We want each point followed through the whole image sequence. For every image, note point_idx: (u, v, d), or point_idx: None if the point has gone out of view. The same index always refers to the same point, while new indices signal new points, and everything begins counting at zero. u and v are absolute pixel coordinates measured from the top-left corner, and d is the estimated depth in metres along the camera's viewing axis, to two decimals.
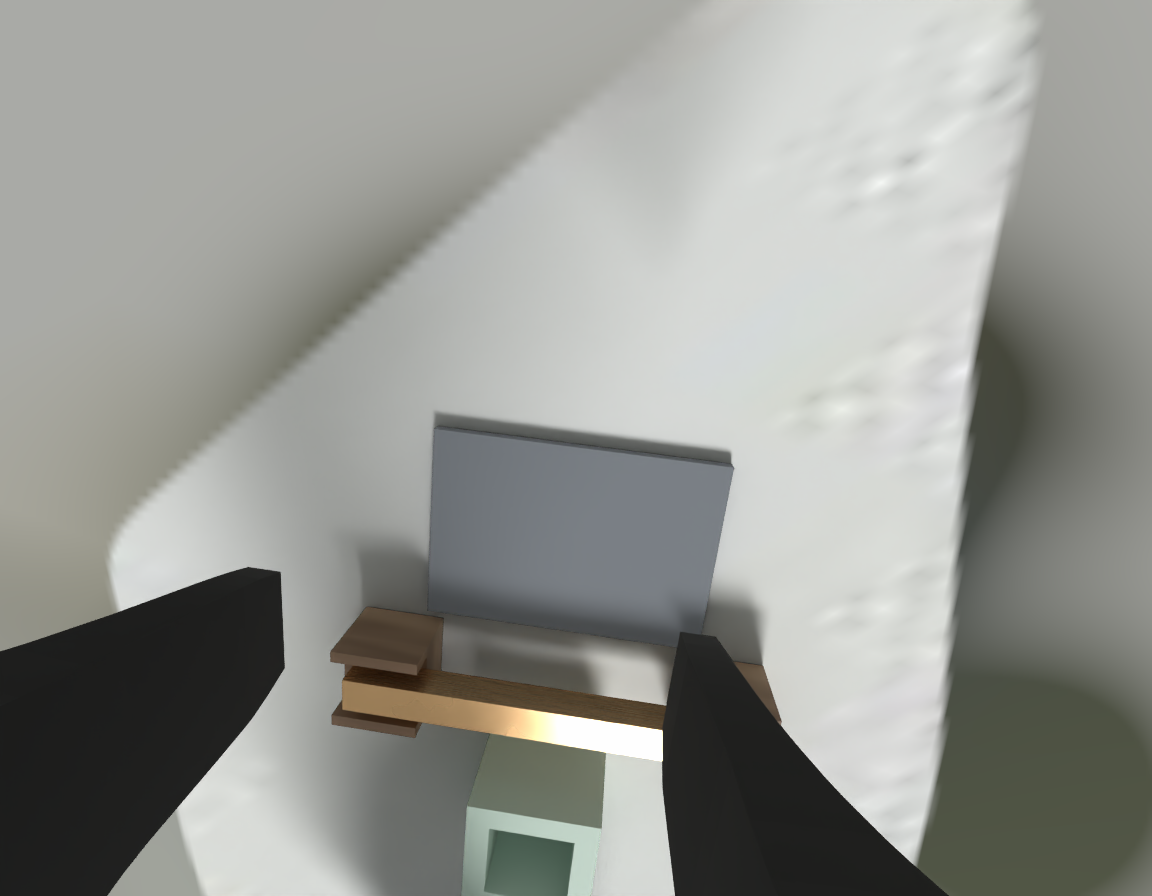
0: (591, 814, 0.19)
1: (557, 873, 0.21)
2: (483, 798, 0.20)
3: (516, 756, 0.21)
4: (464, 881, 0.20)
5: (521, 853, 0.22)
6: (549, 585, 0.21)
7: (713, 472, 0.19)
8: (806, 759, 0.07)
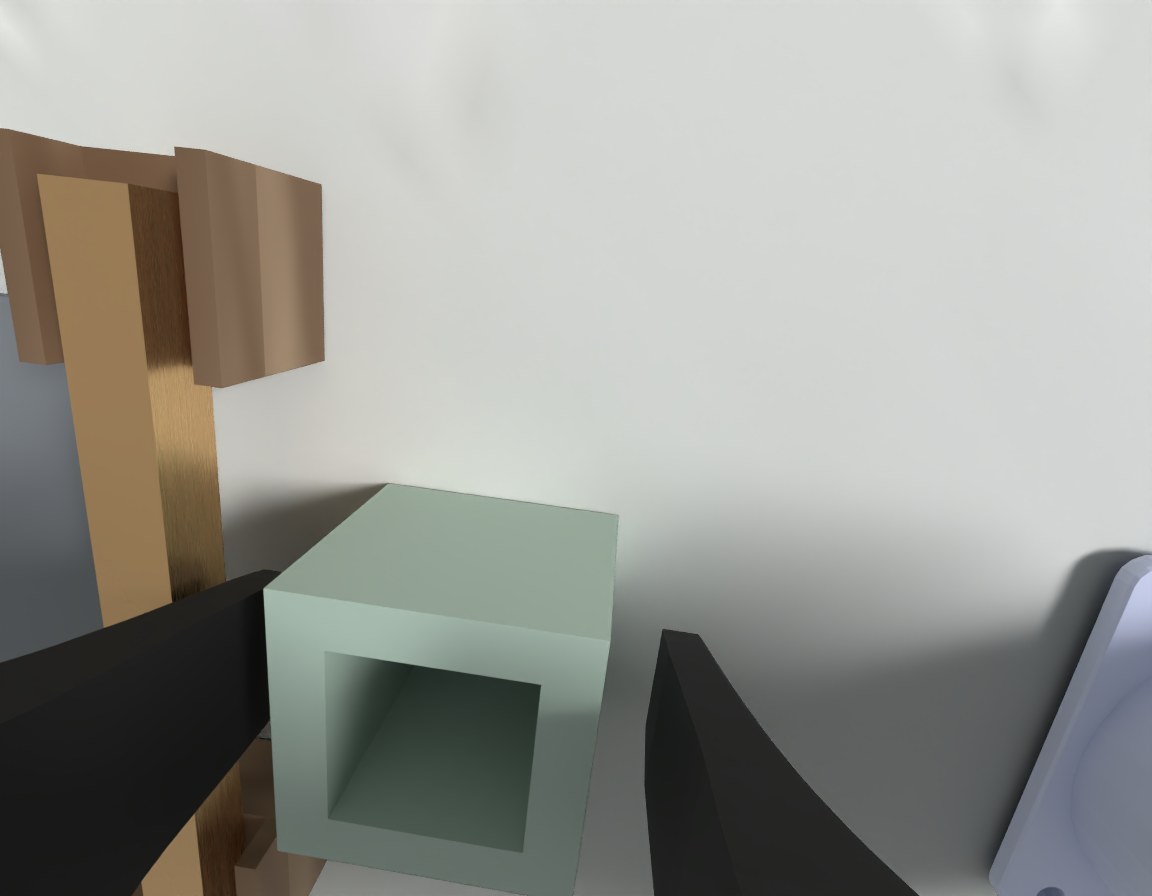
0: None
1: None
2: None
3: None
4: (497, 885, 0.09)
5: None
6: (75, 574, 0.12)
7: None
8: (780, 755, 0.07)
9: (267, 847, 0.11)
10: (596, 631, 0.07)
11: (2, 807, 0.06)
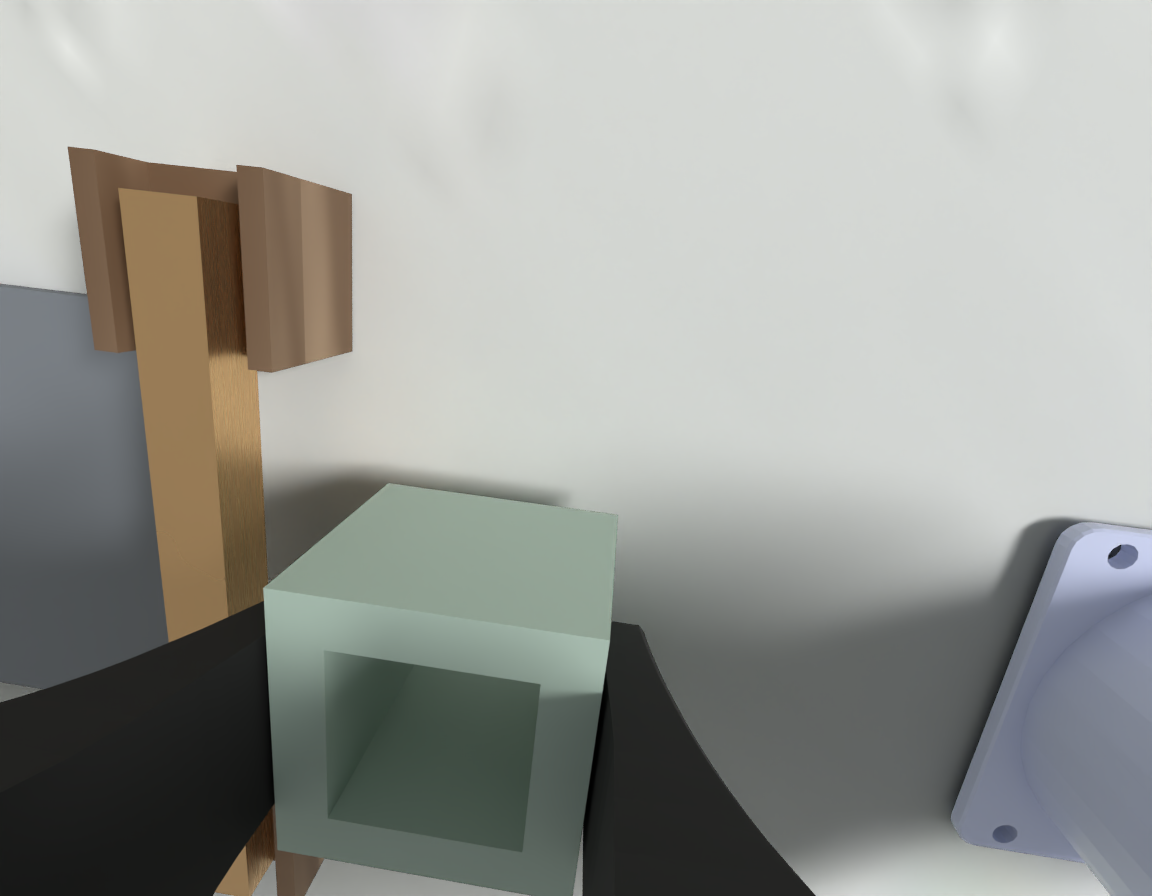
0: None
1: None
2: None
3: None
4: (497, 884, 0.09)
5: None
6: (122, 547, 0.13)
7: None
8: (692, 741, 0.07)
9: None
10: (595, 630, 0.07)
11: (98, 824, 0.06)
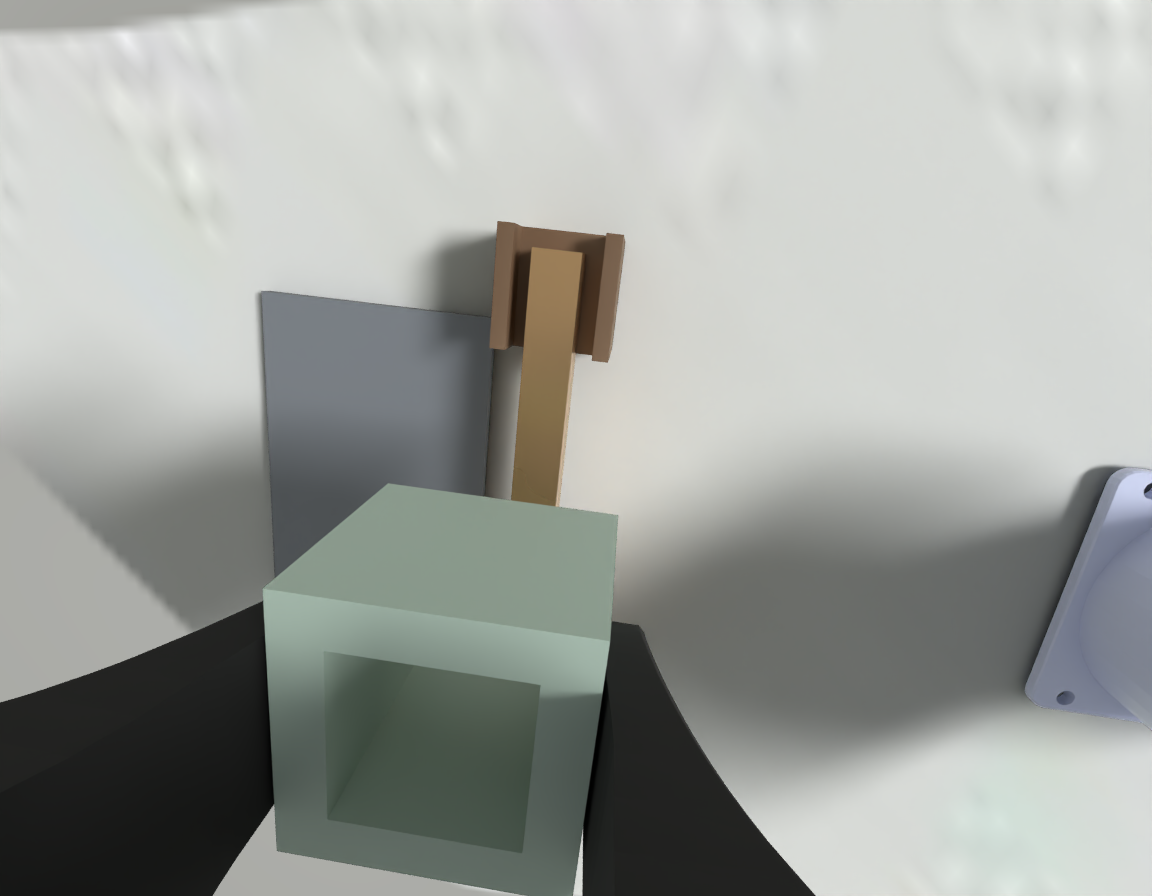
0: None
1: None
2: None
3: None
4: (497, 885, 0.09)
5: None
6: None
7: (270, 313, 0.17)
8: (692, 741, 0.07)
9: None
10: (596, 630, 0.07)
11: (98, 824, 0.06)
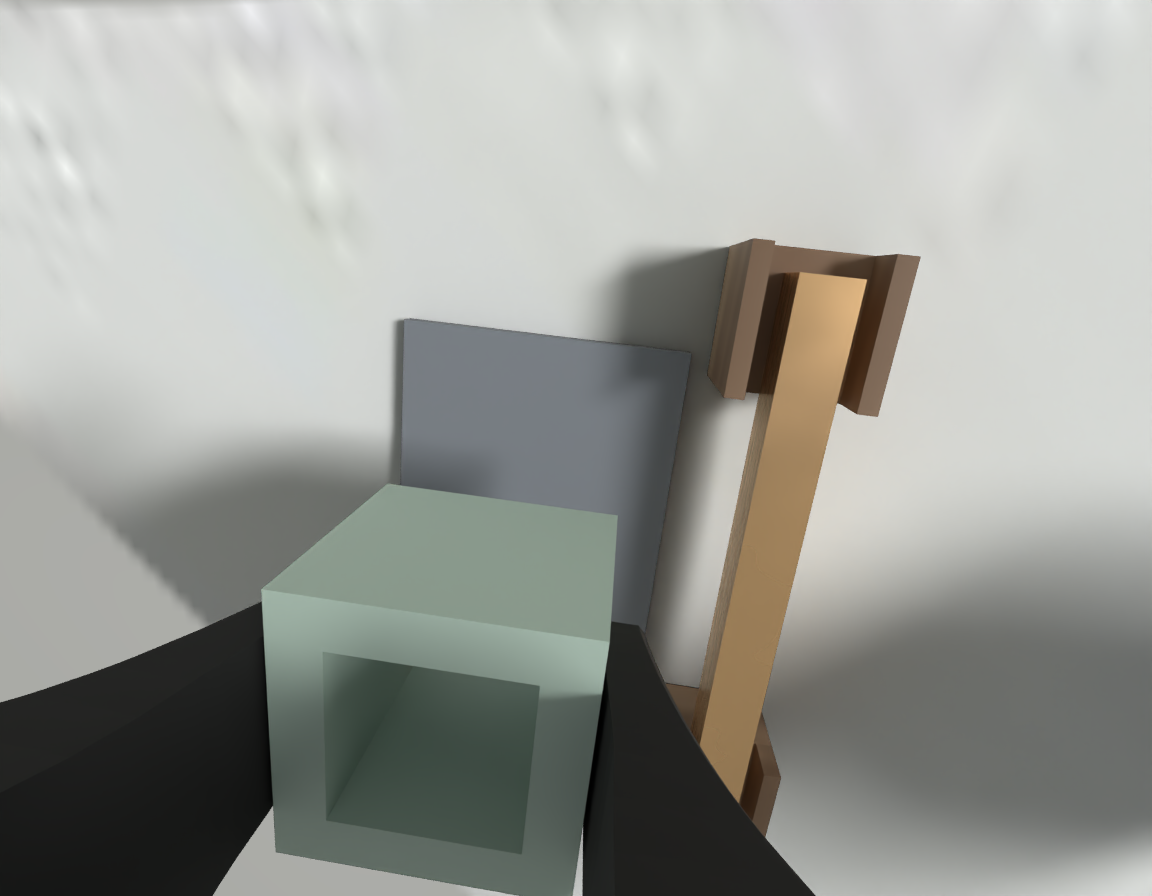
0: None
1: None
2: None
3: None
4: (496, 887, 0.09)
5: None
6: None
7: (413, 346, 0.14)
8: (692, 741, 0.07)
9: (772, 764, 0.14)
10: (595, 632, 0.07)
11: (98, 824, 0.06)
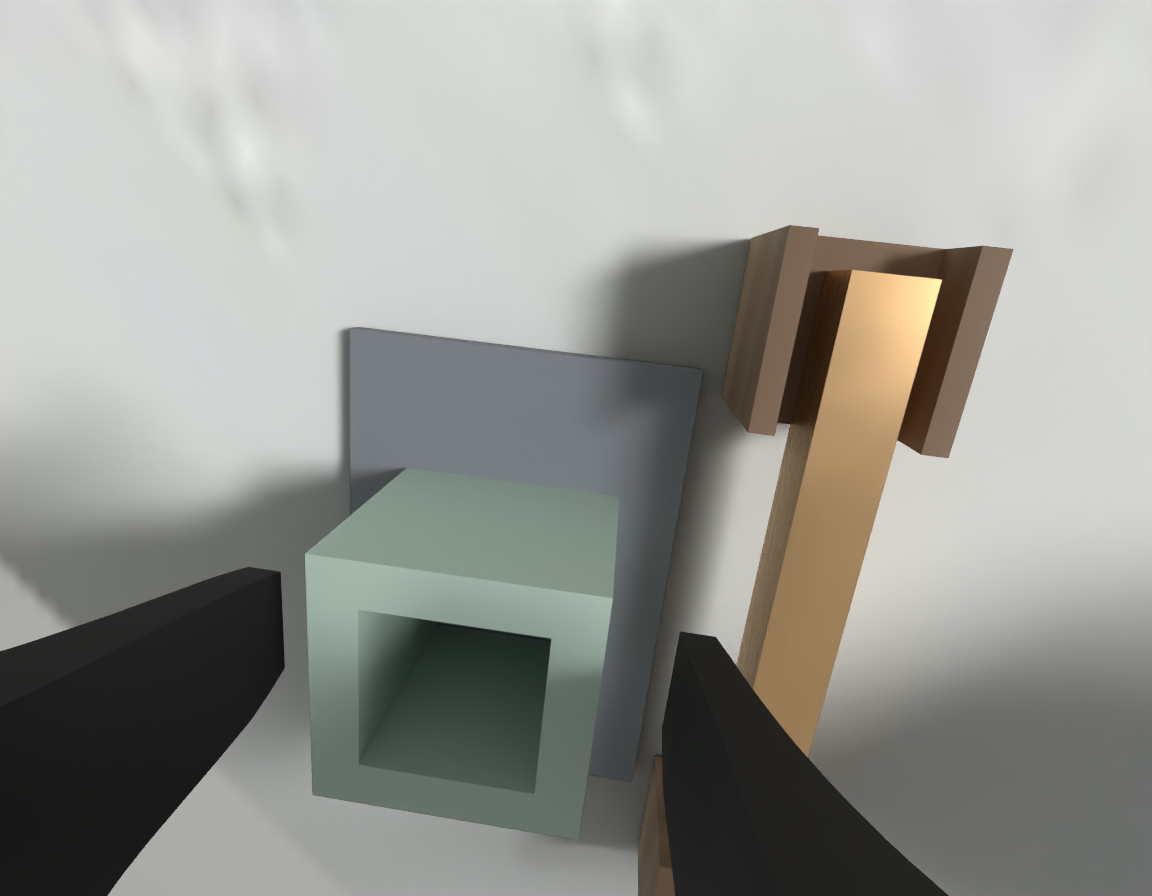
0: None
1: None
2: None
3: None
4: (511, 824, 0.10)
5: None
6: None
7: (361, 361, 0.12)
8: (806, 759, 0.07)
9: None
10: (601, 590, 0.08)
11: None
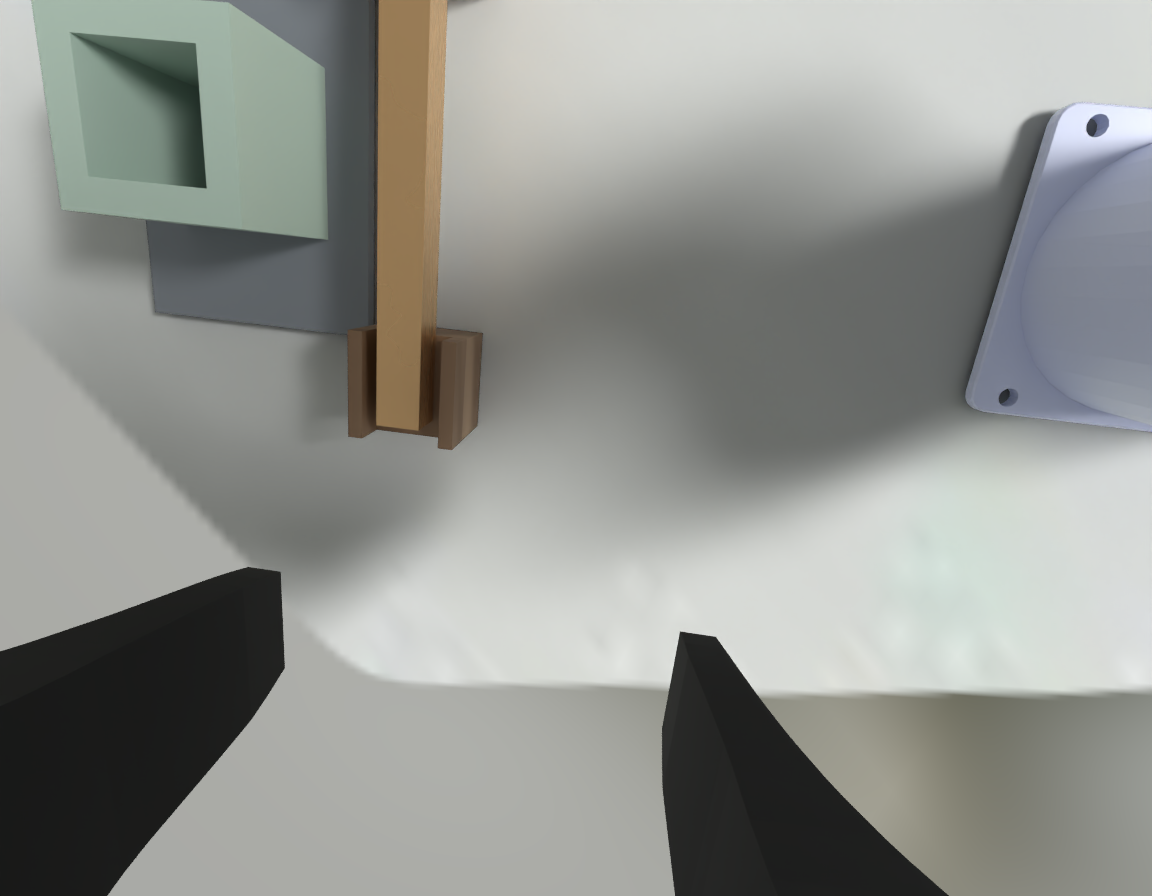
0: None
1: None
2: None
3: None
4: (196, 220, 0.14)
5: None
6: None
7: None
8: (806, 759, 0.07)
9: None
10: (225, 5, 0.12)
11: None
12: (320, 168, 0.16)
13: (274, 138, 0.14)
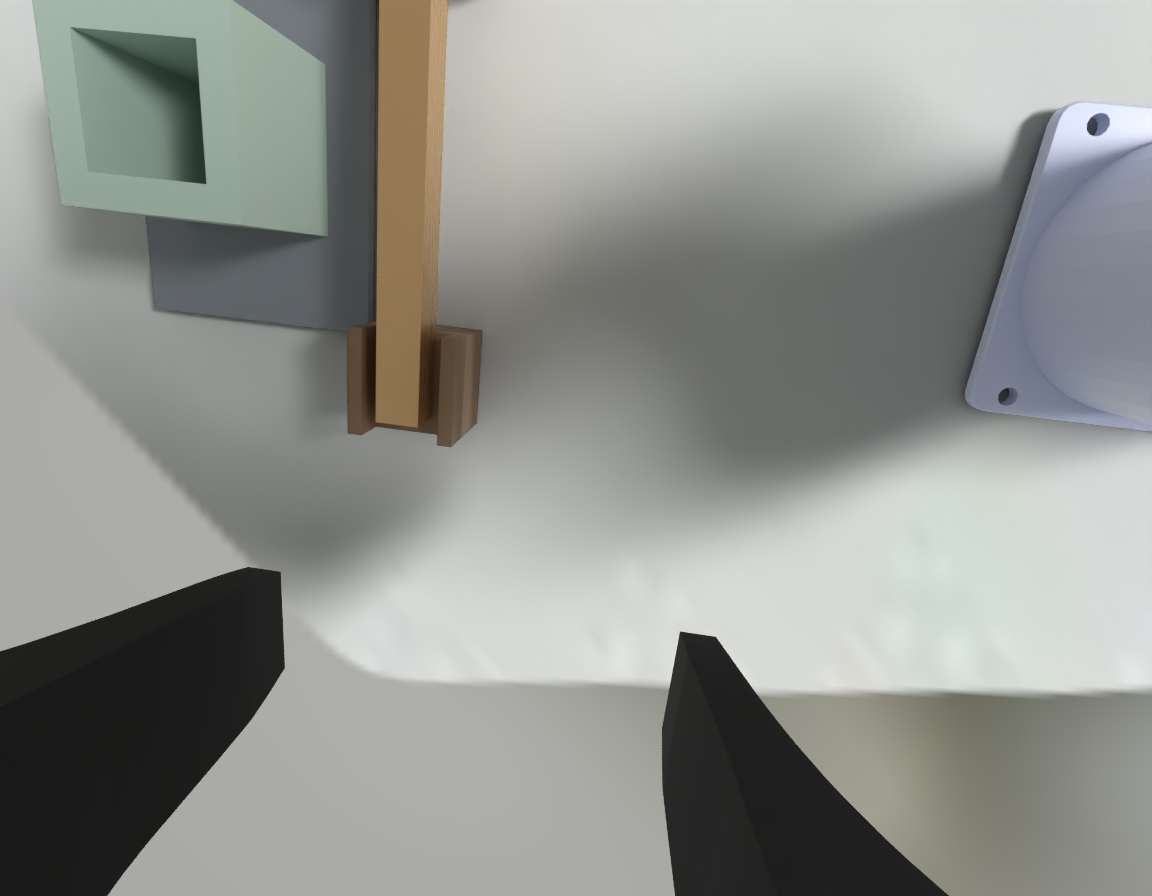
0: None
1: None
2: None
3: None
4: (196, 215, 0.14)
5: None
6: None
7: None
8: (806, 759, 0.07)
9: None
10: (225, 0, 0.12)
11: None
12: (320, 165, 0.16)
13: (274, 134, 0.14)
